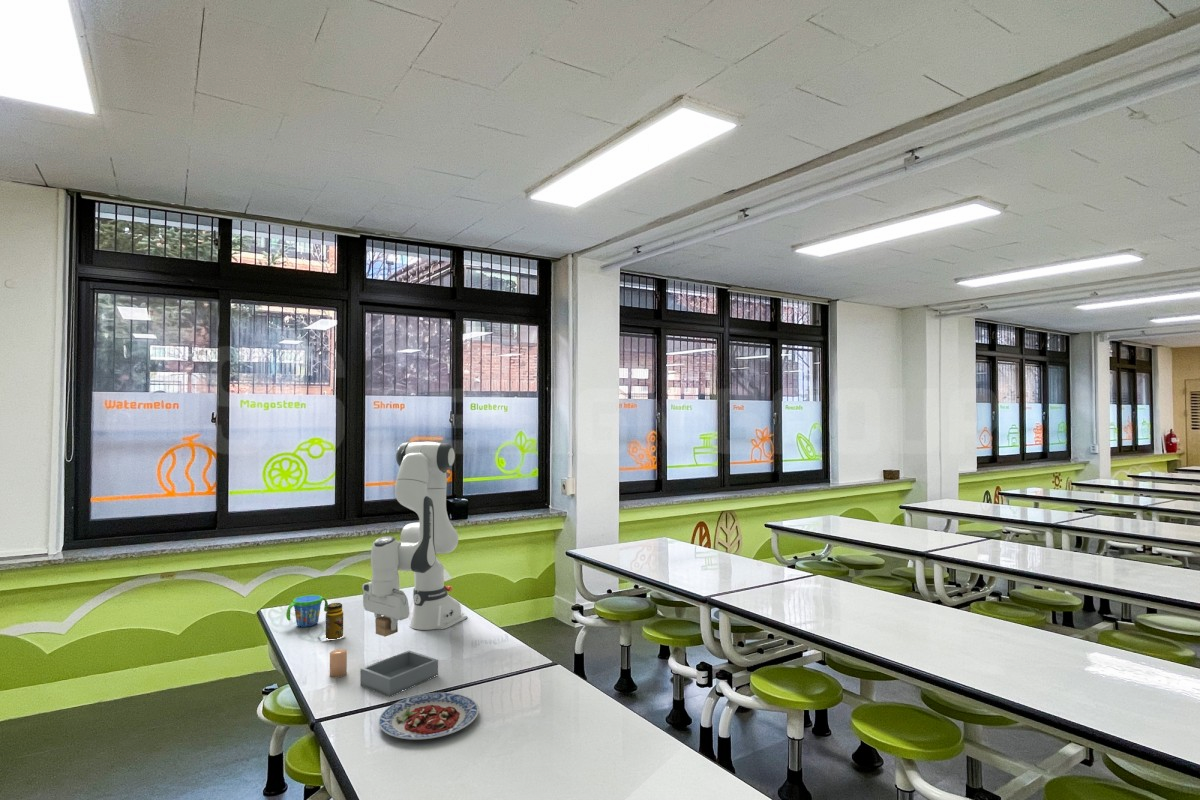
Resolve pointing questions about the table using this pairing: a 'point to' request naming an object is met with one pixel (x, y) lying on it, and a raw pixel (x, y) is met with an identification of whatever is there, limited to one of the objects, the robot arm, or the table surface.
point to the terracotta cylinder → (338, 663)
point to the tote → (398, 672)
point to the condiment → (334, 621)
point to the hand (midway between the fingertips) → (386, 627)
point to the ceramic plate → (428, 716)
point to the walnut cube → (384, 626)
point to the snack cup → (307, 609)
